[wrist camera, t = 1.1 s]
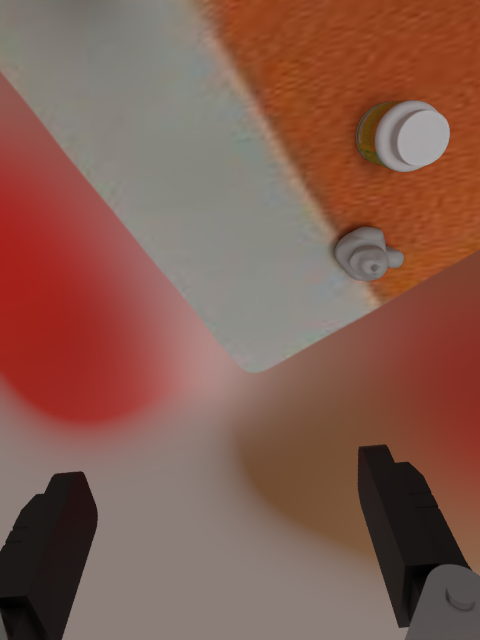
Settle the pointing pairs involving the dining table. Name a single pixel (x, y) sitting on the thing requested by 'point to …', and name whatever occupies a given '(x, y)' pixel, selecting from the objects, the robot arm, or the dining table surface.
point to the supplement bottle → (402, 135)
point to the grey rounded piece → (366, 254)
